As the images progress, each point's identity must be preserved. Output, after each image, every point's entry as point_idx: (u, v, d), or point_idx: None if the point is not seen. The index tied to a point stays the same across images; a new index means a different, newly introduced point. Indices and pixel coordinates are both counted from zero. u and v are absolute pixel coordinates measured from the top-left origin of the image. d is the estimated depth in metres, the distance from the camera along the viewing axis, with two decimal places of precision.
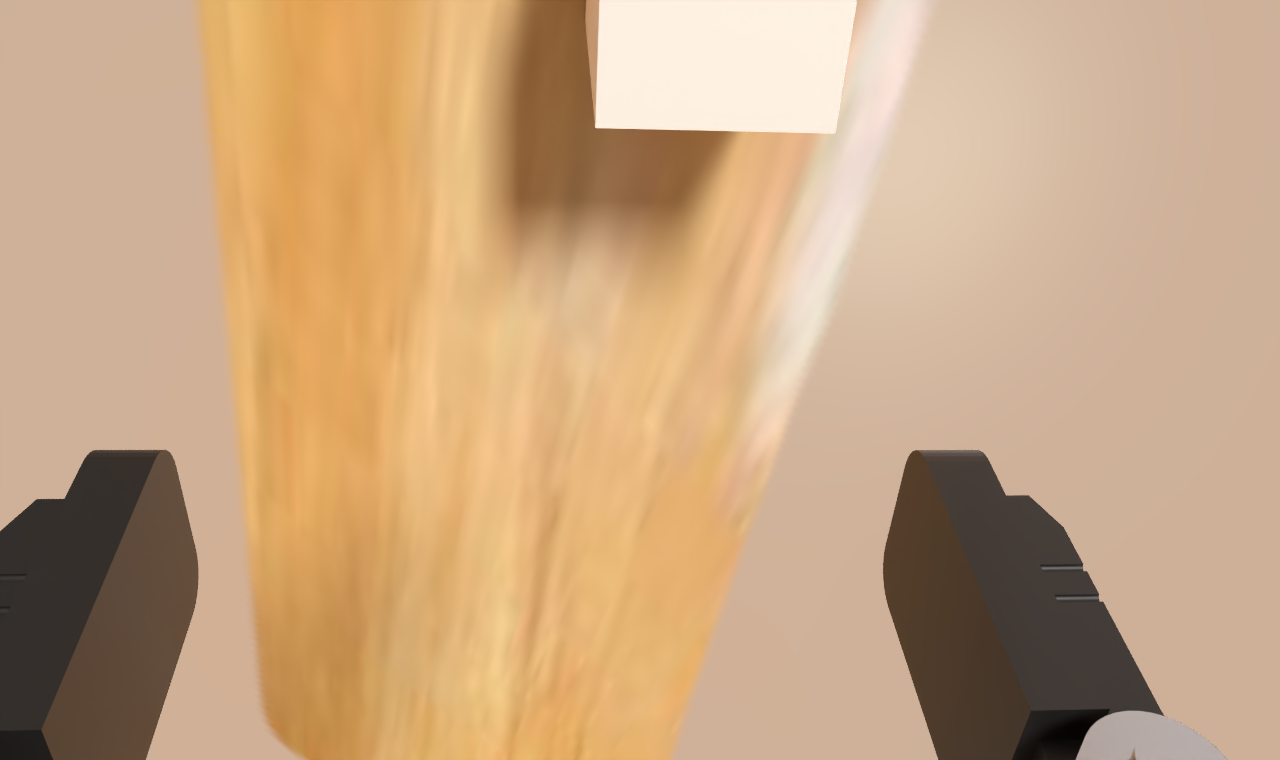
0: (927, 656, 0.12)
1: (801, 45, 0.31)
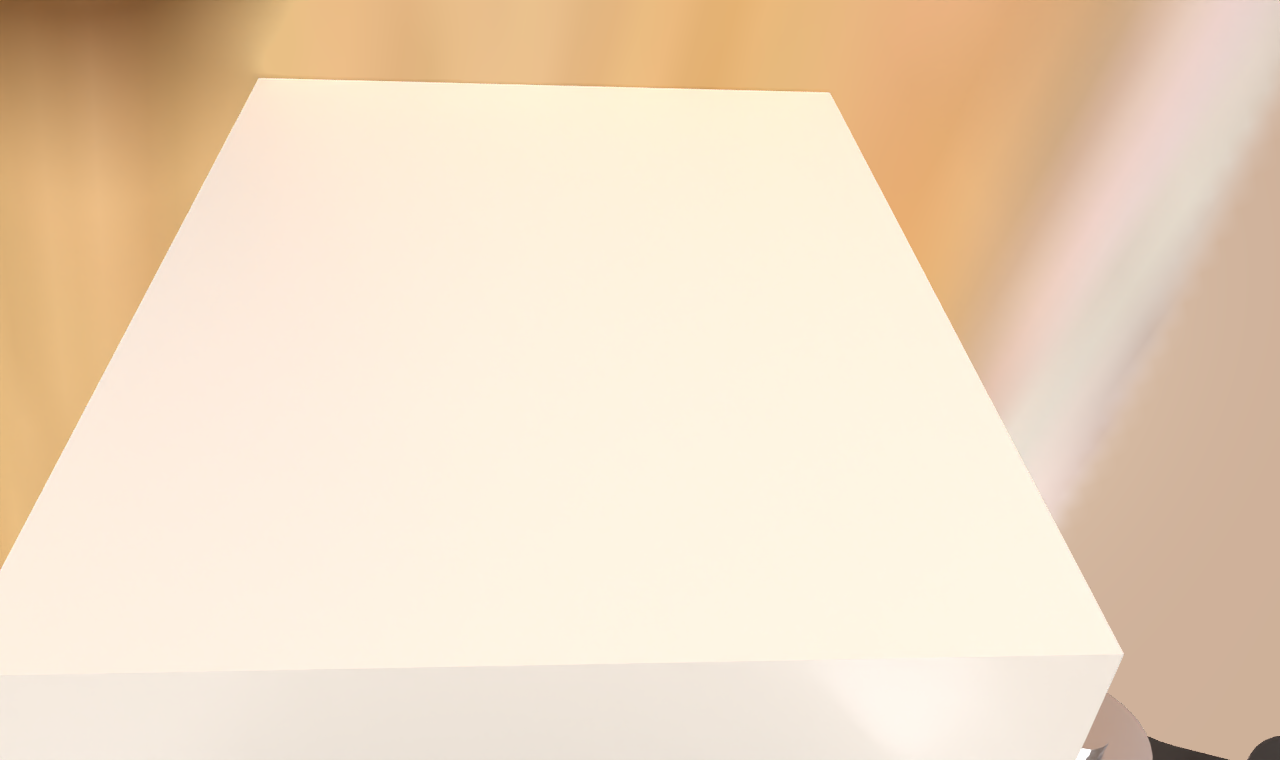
0: None
1: None
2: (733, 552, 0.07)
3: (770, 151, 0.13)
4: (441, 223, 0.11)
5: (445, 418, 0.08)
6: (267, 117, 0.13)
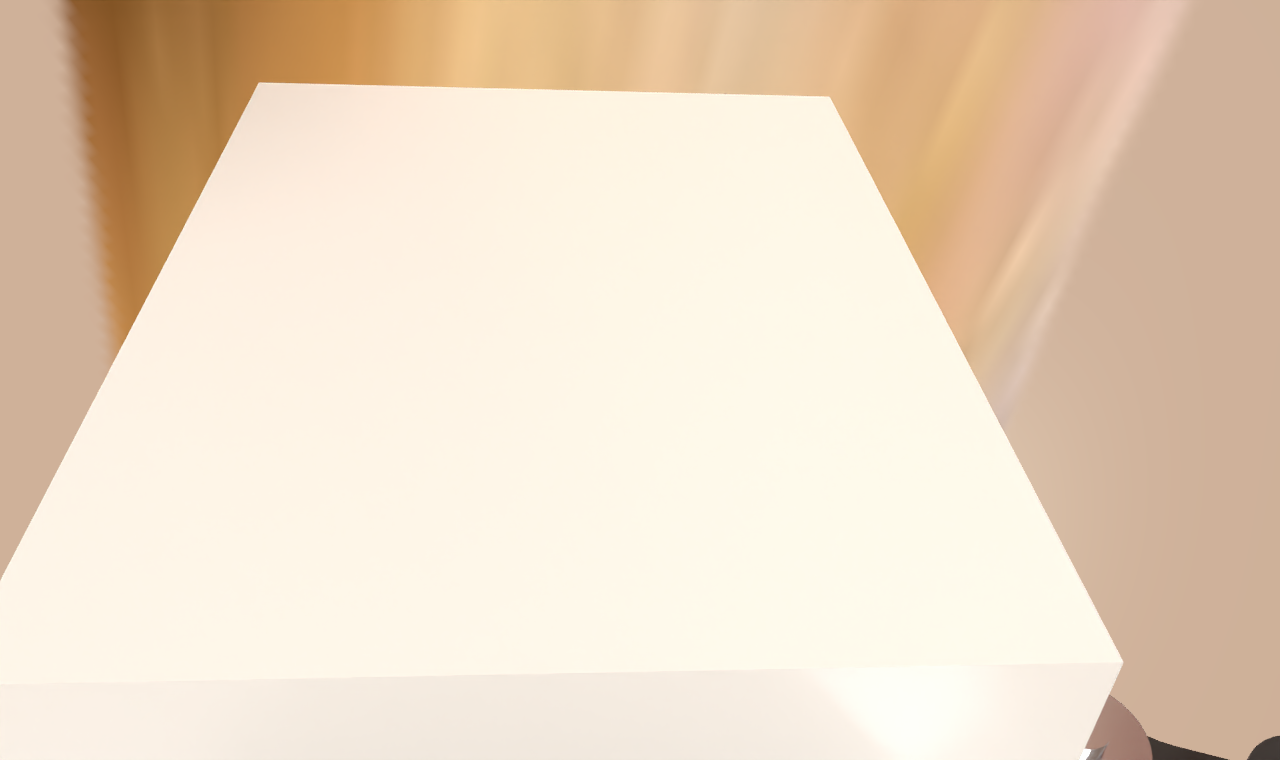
0: None
1: None
2: (733, 561, 0.07)
3: (770, 156, 0.13)
4: (441, 229, 0.11)
5: (445, 425, 0.08)
6: (268, 122, 0.13)
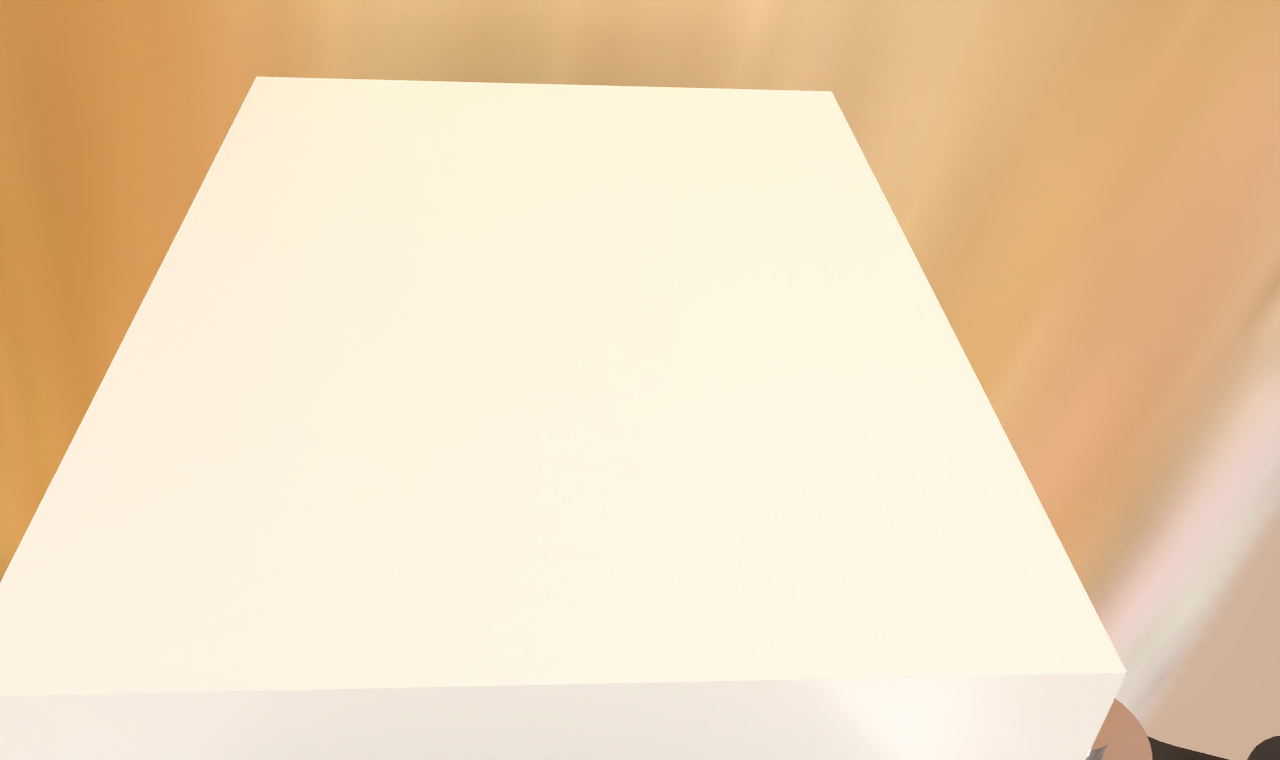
0: None
1: None
2: (735, 568, 0.07)
3: (771, 152, 0.12)
4: (441, 229, 0.11)
5: (445, 429, 0.08)
6: (265, 117, 0.13)
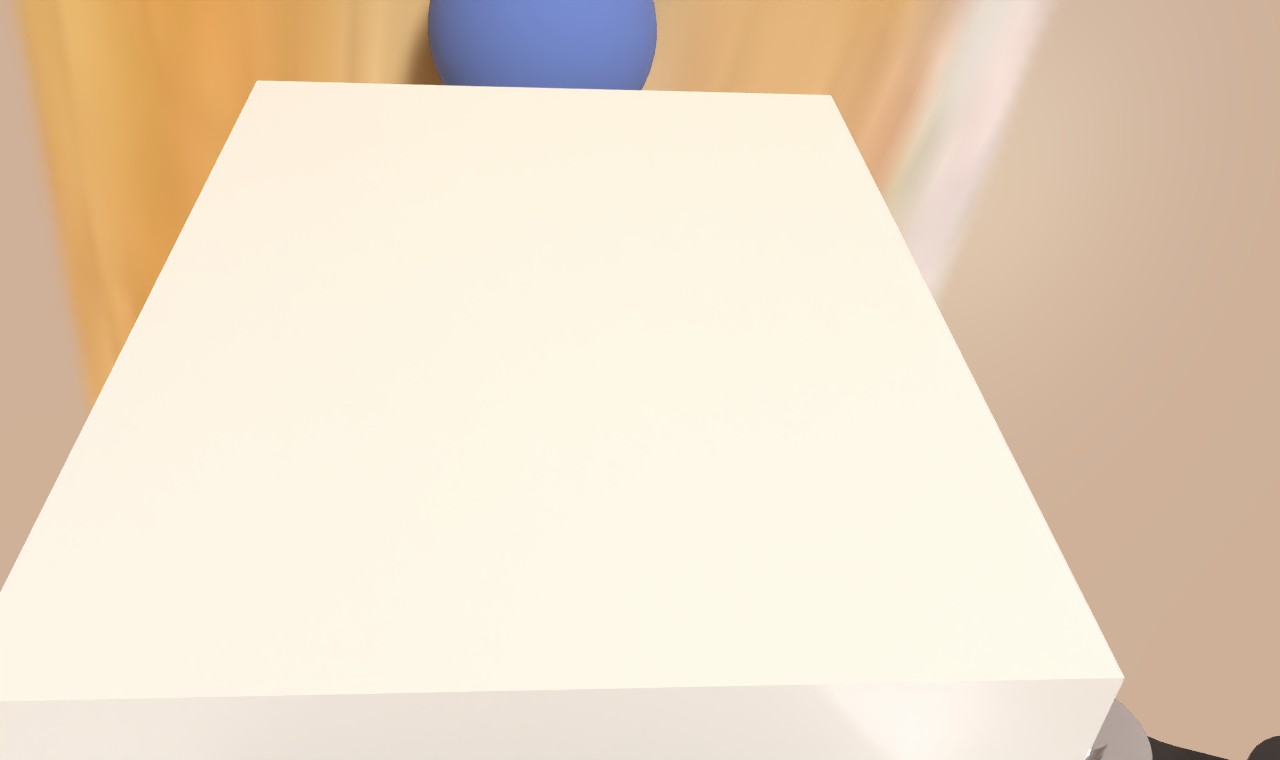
0: None
1: None
2: (733, 573, 0.07)
3: (771, 156, 0.13)
4: (441, 233, 0.11)
5: (445, 435, 0.08)
6: (266, 121, 0.13)
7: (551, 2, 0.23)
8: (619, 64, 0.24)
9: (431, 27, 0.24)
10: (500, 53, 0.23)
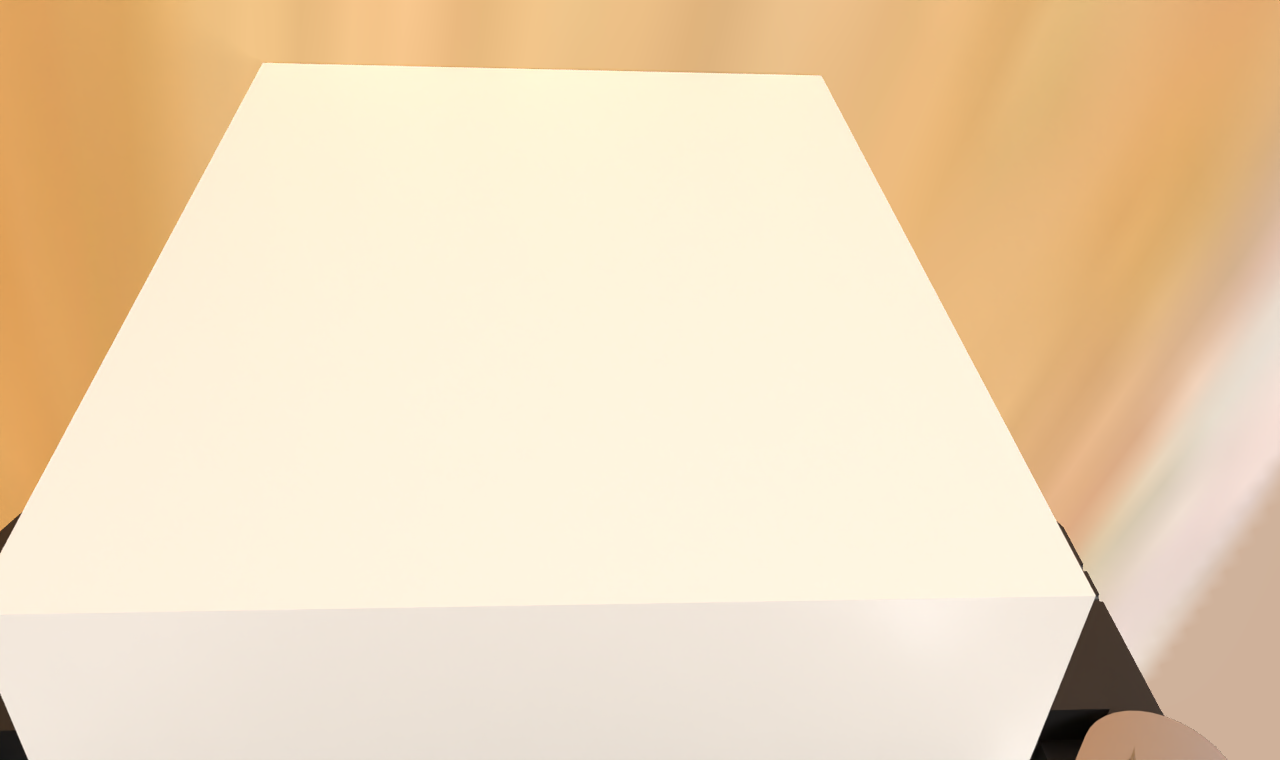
0: None
1: None
2: (721, 504, 0.08)
3: (762, 131, 0.13)
4: (440, 200, 0.11)
5: (444, 380, 0.09)
6: (272, 100, 0.13)
7: None
8: None
9: None
10: None
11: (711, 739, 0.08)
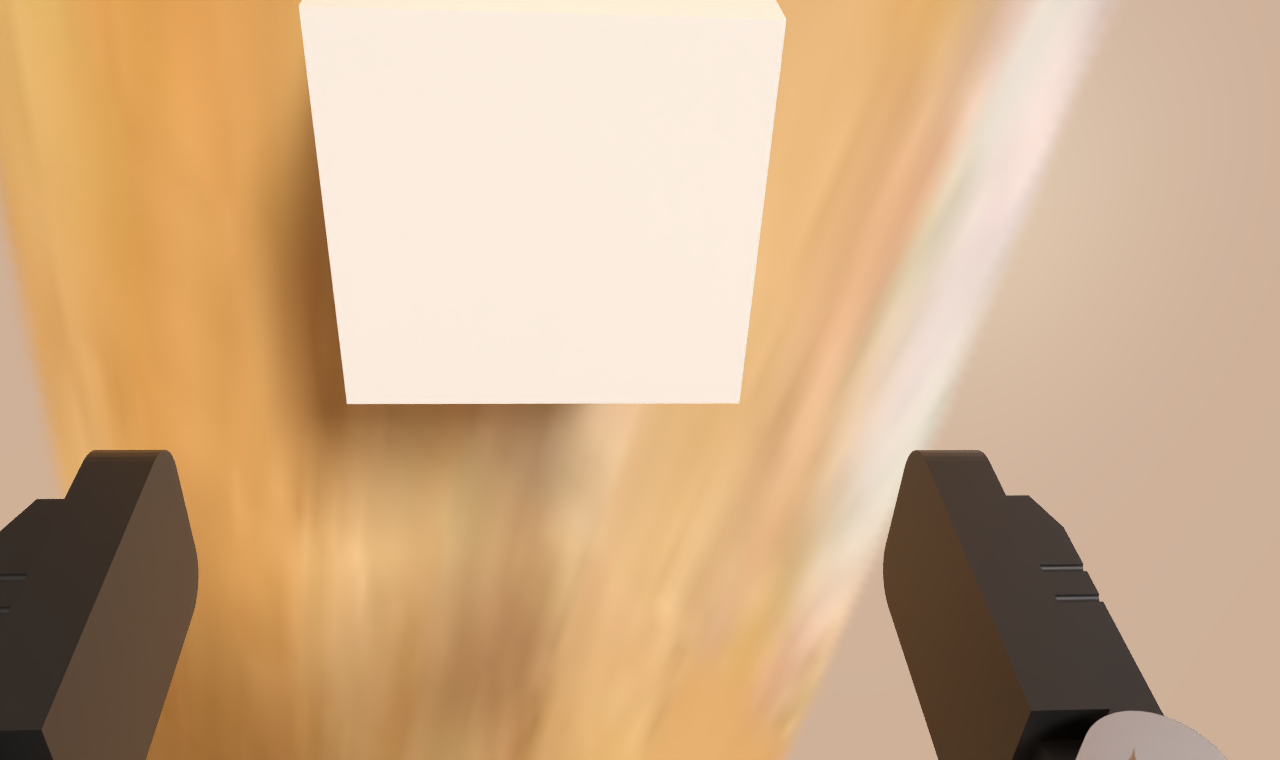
0: (927, 655, 0.12)
1: (674, 279, 0.19)
2: None
3: None
4: None
5: None
6: None
7: None
8: None
9: None
10: None
11: (620, 106, 0.17)
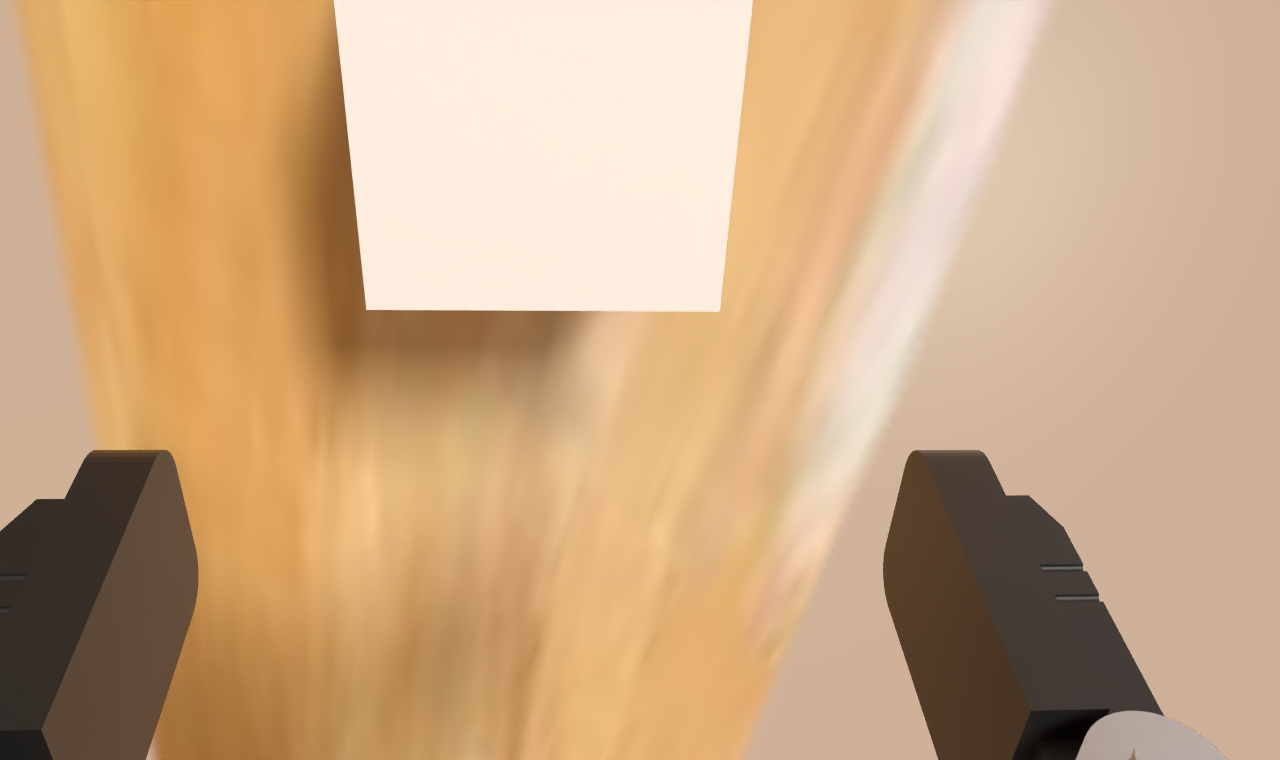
0: (927, 656, 0.12)
1: (660, 194, 0.21)
2: None
3: None
4: None
5: None
6: None
7: None
8: None
9: None
10: None
11: (611, 33, 0.19)
